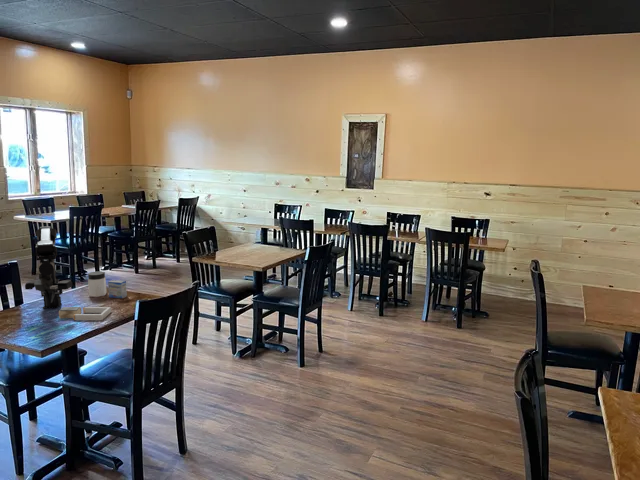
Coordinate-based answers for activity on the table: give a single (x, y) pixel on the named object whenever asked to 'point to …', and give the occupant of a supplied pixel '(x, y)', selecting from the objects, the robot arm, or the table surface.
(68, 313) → the grey beige block
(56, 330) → the table surface
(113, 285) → the medicine box
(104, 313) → the frame
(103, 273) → the jar
